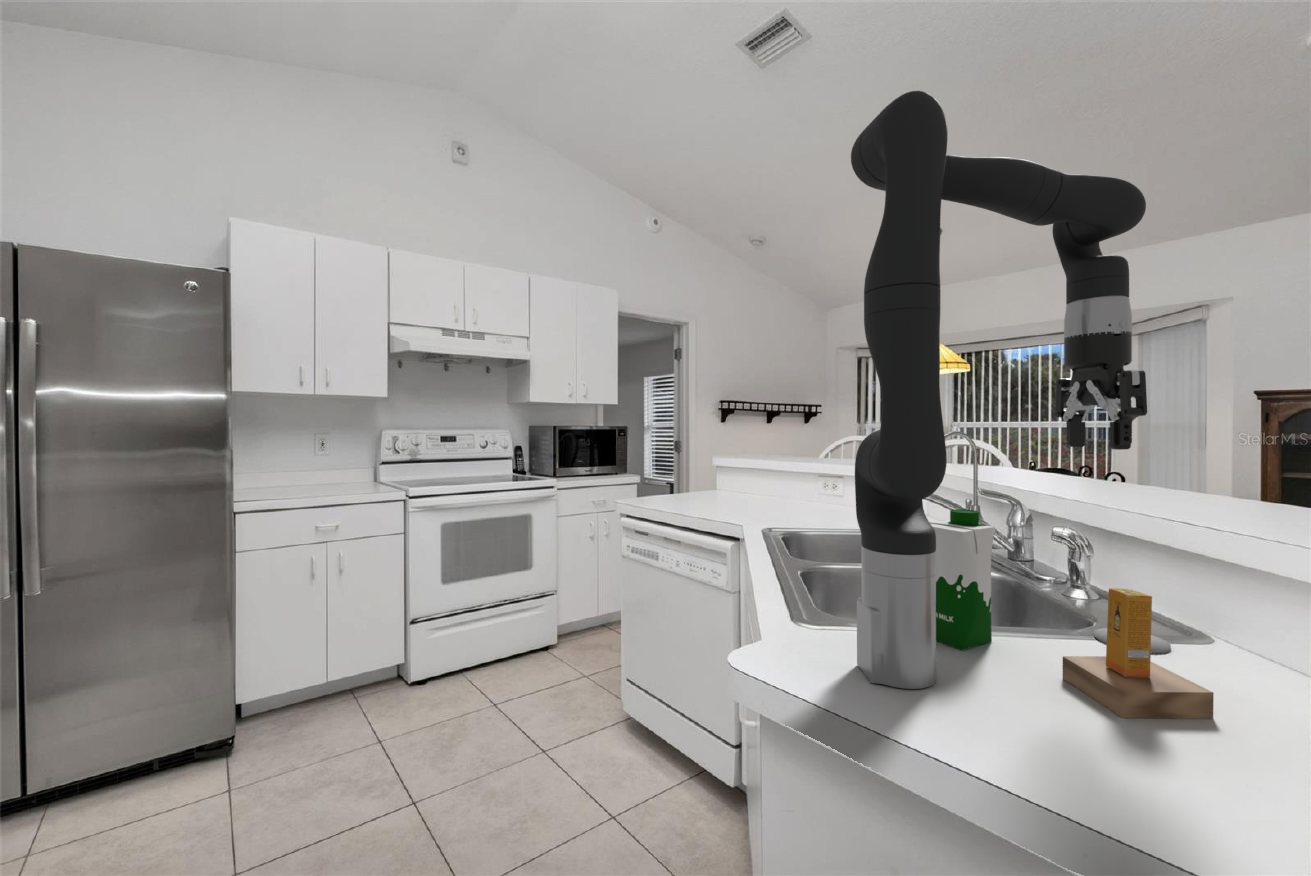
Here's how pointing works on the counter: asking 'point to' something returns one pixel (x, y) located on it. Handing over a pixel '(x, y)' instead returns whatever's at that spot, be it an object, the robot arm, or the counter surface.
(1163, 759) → the counter surface
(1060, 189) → the robot arm
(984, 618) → the milk carton
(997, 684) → the counter surface
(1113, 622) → the supplement box
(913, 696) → the counter surface
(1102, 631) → the grey coaster
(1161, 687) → the walnut plinth
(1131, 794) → the counter surface
